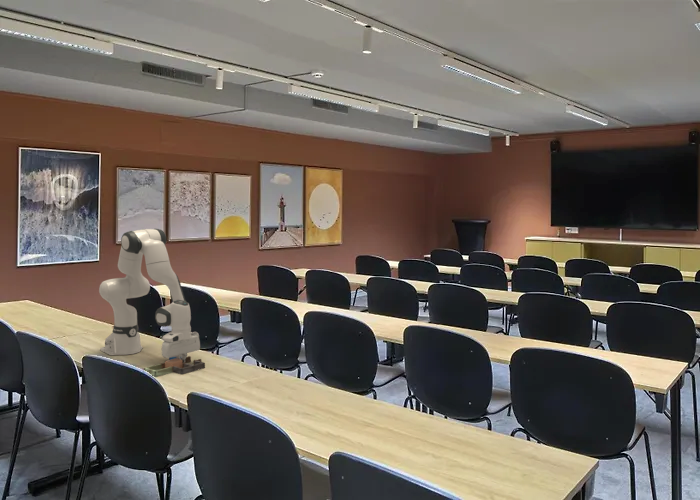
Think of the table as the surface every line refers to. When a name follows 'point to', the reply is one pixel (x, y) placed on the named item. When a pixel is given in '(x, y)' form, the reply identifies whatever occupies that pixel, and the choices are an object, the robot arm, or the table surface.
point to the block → (173, 363)
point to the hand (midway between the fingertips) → (181, 363)
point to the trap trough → (175, 368)
